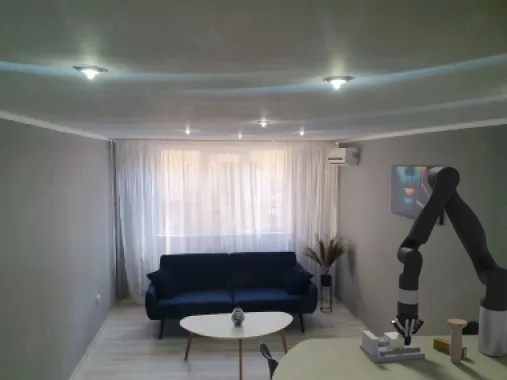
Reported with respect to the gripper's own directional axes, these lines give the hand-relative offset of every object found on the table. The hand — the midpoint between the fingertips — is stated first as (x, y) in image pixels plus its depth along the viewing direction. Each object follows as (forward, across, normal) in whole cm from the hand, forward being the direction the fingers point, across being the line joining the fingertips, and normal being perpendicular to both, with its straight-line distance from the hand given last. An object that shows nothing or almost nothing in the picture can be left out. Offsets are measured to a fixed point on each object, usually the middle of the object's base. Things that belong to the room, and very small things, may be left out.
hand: (406, 344), depth 165 cm
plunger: (+1, +7, +1) cm, 7 cm away
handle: (+3, -13, +11) cm, 17 cm away
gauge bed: (+3, +6, 0) cm, 7 cm away
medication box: (+3, -16, +4) cm, 16 cm away
